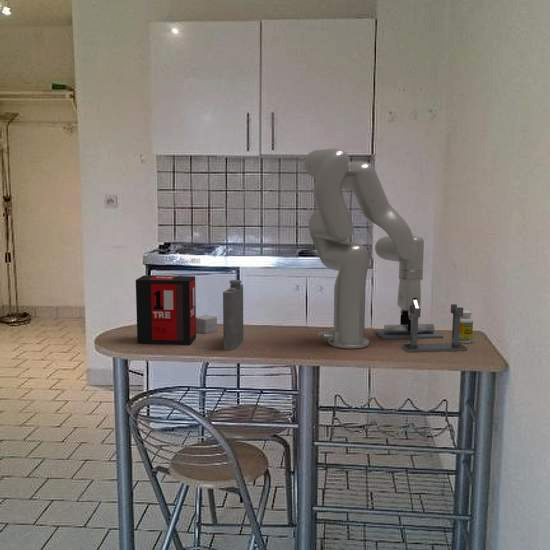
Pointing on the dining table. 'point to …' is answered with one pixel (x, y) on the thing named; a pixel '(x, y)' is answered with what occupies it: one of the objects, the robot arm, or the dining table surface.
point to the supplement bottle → (466, 327)
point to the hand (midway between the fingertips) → (408, 328)
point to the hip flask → (233, 316)
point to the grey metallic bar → (404, 329)
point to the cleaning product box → (166, 310)
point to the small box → (206, 324)
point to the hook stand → (452, 346)
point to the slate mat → (408, 335)
